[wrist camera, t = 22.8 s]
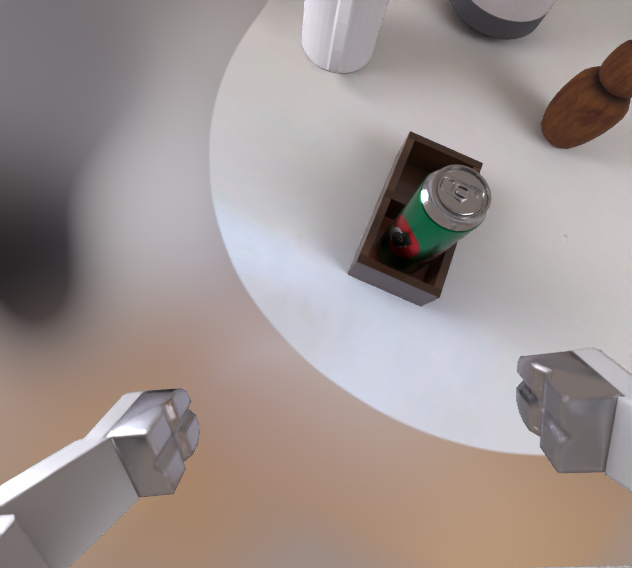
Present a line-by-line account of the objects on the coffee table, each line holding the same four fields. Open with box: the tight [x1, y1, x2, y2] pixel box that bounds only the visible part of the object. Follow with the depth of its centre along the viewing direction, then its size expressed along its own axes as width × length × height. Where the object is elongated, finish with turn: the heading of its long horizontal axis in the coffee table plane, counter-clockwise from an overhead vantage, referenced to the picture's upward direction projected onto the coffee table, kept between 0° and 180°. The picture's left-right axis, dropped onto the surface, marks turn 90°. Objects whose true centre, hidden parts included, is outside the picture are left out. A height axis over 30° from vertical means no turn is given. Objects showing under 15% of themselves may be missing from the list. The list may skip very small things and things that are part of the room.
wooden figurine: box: [541, 40, 632, 149], centre depth 35 cm, size 7×6×15 cm
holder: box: [348, 132, 483, 306], centre depth 35 cm, size 15×8×4 cm, turn 157°
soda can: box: [378, 165, 491, 274], centre depth 29 cm, size 5×5×12 cm
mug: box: [302, 0, 389, 73], centre depth 37 cm, size 11×10×10 cm
